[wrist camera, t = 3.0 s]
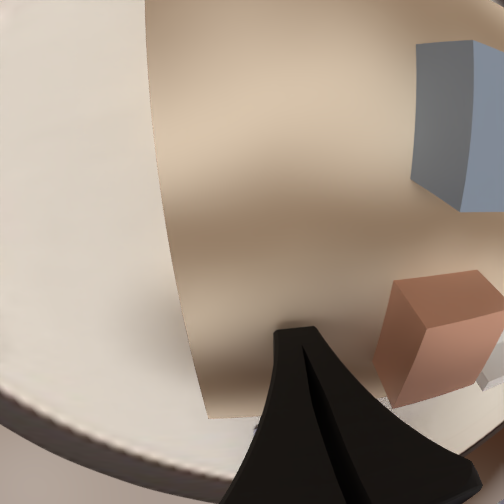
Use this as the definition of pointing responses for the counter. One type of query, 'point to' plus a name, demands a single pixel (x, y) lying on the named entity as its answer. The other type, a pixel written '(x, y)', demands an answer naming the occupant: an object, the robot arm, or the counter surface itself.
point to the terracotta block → (437, 335)
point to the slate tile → (460, 124)
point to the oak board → (300, 175)
